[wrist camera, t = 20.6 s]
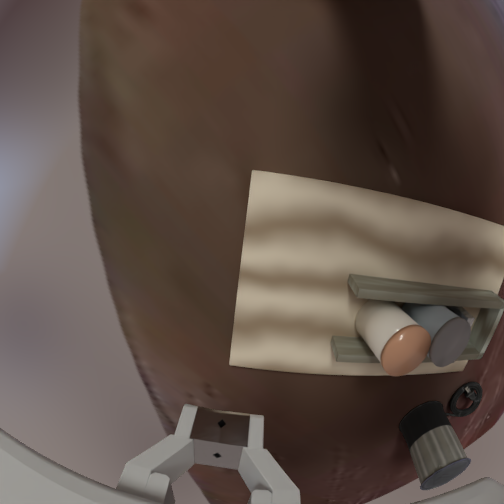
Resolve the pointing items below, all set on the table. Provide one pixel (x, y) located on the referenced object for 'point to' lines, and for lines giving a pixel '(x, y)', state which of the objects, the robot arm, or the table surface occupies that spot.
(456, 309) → the pusher
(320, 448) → the table surface
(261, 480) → the robot arm
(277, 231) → the cream rippled cloth
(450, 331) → the jar
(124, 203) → the table surface
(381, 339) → the jar
